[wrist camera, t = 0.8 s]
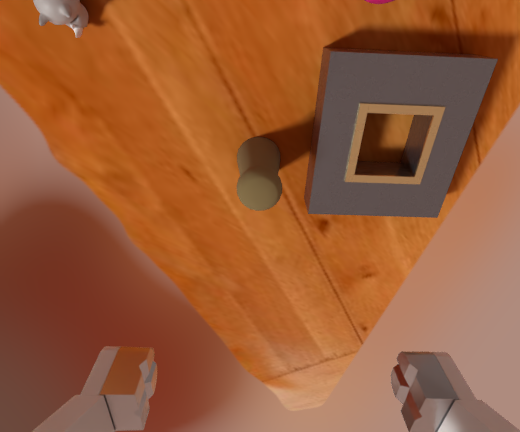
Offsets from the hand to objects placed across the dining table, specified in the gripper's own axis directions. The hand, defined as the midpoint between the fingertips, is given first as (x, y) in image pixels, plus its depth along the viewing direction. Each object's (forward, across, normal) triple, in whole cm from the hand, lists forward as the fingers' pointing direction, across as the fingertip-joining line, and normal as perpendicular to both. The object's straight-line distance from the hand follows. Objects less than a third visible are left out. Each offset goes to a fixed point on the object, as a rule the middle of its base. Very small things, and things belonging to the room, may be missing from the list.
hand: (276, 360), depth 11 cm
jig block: (+36, -16, +2) cm, 40 cm away
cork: (+37, 0, +6) cm, 37 cm away
